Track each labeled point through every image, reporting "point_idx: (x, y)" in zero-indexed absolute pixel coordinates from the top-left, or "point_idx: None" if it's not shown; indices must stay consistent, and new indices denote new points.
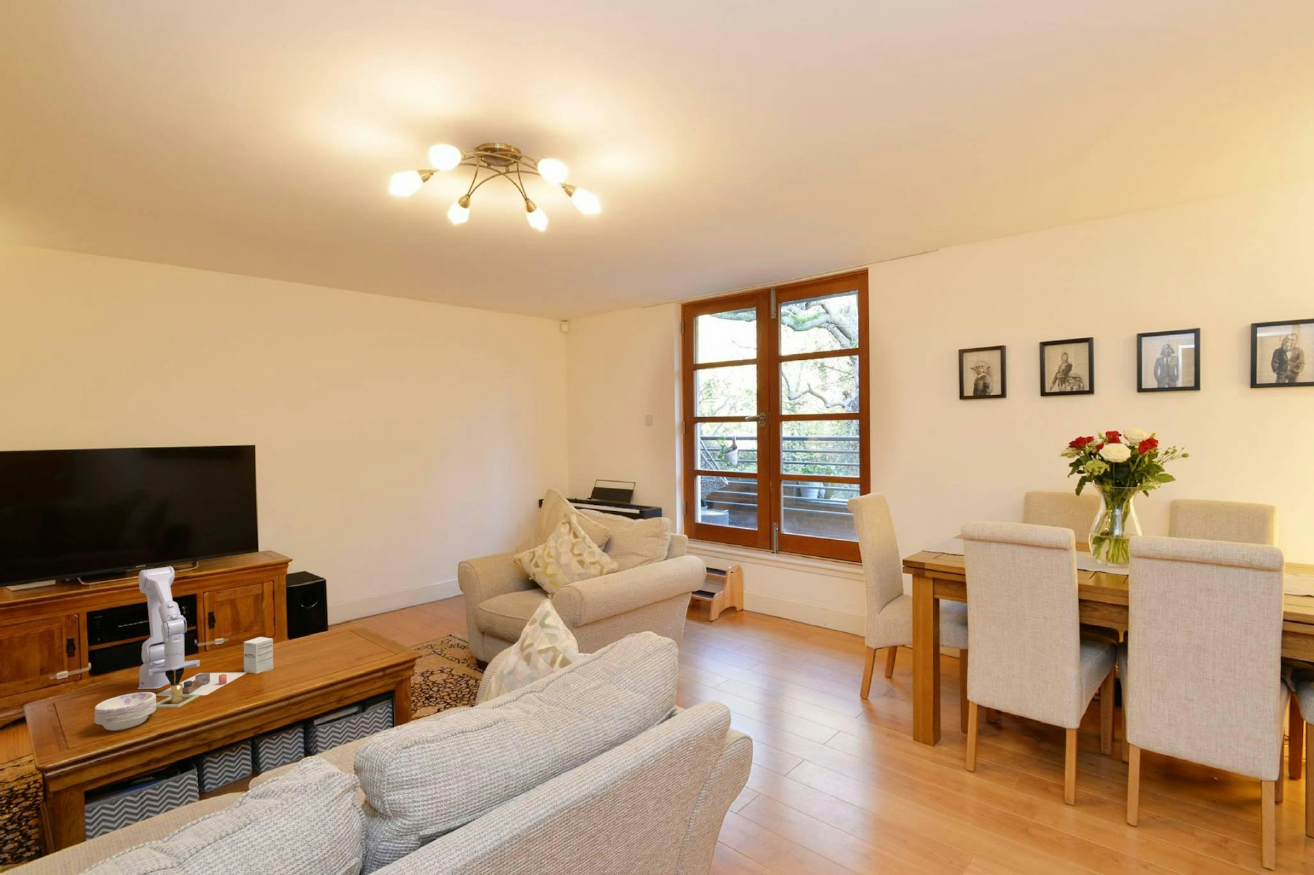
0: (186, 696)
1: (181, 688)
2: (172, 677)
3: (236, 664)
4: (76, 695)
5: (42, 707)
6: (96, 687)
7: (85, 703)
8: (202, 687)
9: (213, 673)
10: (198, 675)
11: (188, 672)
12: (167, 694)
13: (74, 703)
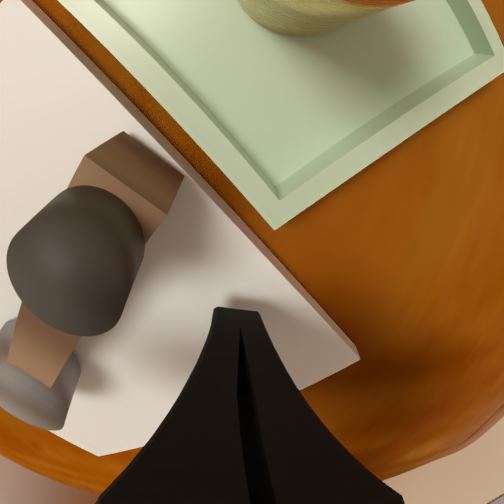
0: (160, 62)
1: None
2: (301, 479)
3: (5, 428)
4: (419, 462)
5: (488, 426)
6: None
7: (465, 417)
8: None
9: None
10: (45, 418)
11: None
12: (288, 325)
13: (466, 426)
